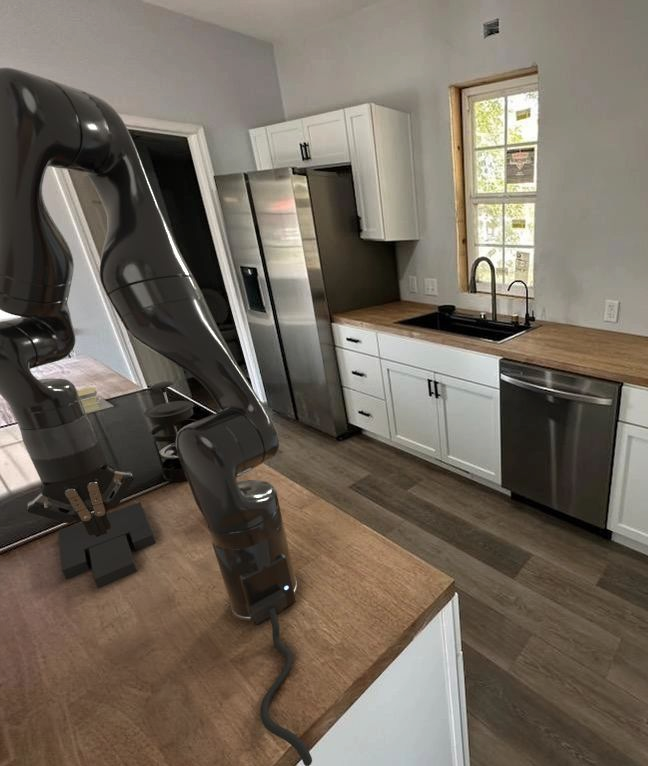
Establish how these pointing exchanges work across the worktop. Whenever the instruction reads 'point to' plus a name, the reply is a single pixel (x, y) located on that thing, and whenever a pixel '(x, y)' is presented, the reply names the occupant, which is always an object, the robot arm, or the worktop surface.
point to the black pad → (111, 561)
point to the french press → (169, 431)
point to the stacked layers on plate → (92, 400)
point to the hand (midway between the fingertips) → (101, 532)
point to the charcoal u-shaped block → (102, 538)
